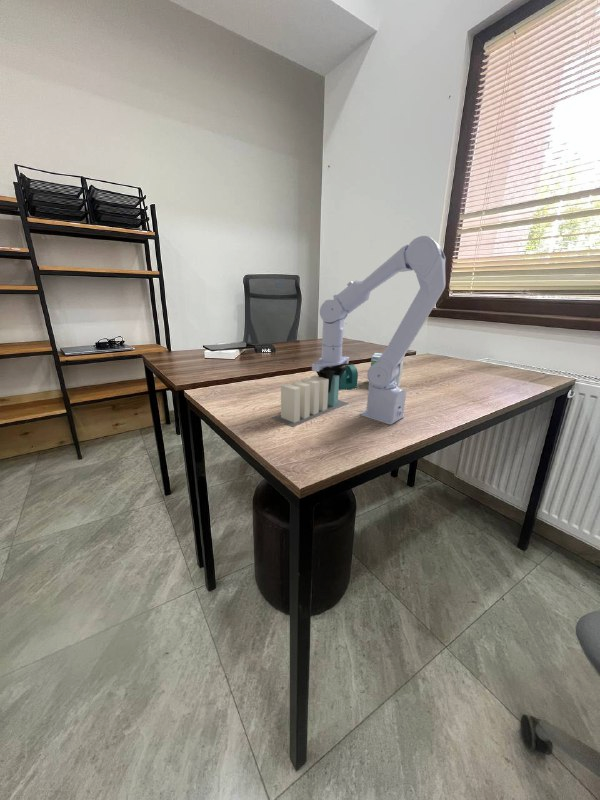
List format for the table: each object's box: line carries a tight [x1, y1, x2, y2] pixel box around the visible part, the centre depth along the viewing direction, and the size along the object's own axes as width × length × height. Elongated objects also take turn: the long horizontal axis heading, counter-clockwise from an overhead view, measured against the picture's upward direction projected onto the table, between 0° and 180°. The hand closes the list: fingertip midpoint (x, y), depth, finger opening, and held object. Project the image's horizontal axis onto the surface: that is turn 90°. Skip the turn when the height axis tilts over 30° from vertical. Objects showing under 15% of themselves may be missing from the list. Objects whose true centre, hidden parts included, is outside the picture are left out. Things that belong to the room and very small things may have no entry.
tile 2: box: [309, 375, 329, 411], centre depth 87 cm, size 5×2×9 cm, turn 46°
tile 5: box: [280, 383, 300, 423], centre depth 79 cm, size 5×2×9 cm, turn 46°
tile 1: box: [327, 375, 340, 407], centre depth 91 cm, size 5×2×9 cm, turn 46°
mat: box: [271, 399, 349, 428], centre depth 87 cm, size 8×24×1 cm, turn 136°
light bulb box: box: [370, 352, 404, 388], centre depth 111 cm, size 11×7×11 cm, turn 67°
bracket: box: [339, 364, 359, 390], centre depth 113 cm, size 18×7×8 cm, turn 22°
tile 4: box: [290, 380, 310, 419], centre depth 82 cm, size 5×2×9 cm, turn 46°
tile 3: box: [300, 377, 320, 415], centre depth 85 cm, size 5×2×9 cm, turn 46°
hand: (329, 390), depth 91 cm, fingers open, 3 cm apart
